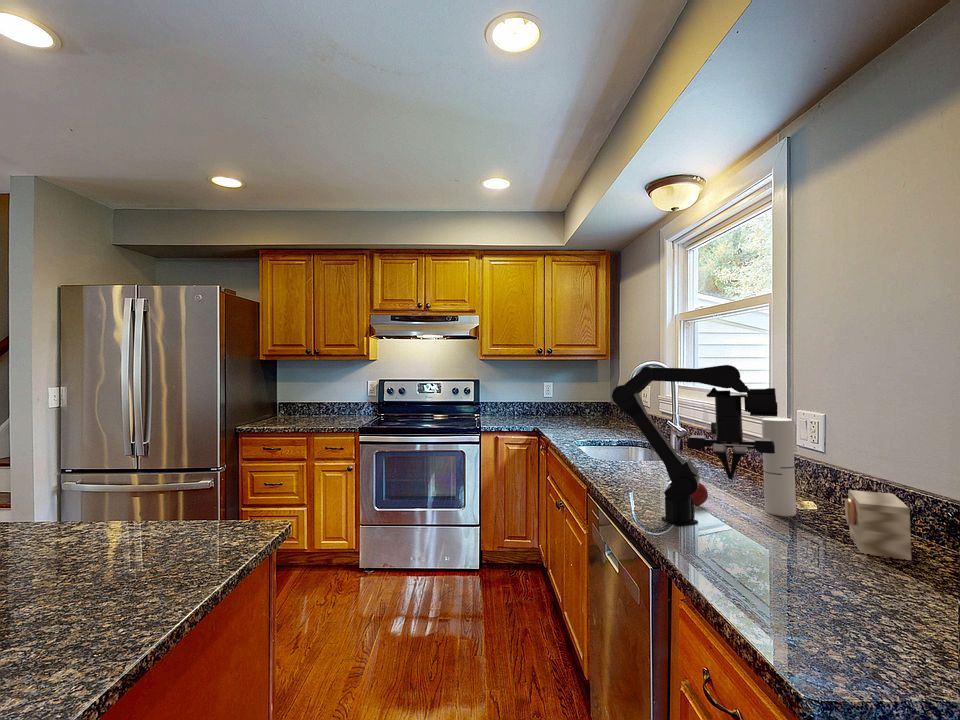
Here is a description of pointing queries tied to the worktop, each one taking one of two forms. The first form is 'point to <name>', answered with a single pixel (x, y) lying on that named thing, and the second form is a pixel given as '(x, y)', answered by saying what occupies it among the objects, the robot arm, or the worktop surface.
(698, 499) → the onion
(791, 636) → the worktop surface
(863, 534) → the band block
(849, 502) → the peg
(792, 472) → the cylindrical container
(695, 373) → the robot arm
